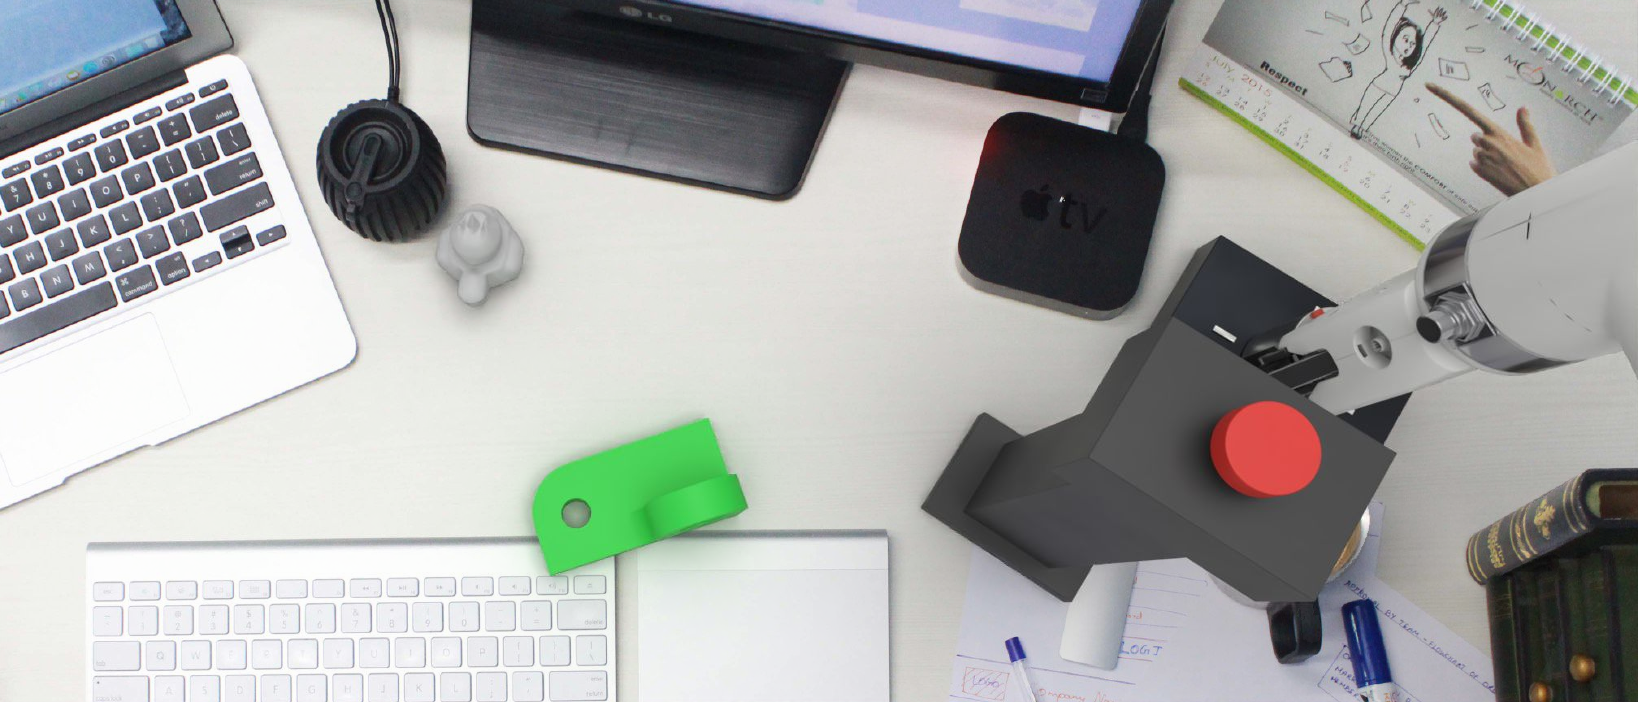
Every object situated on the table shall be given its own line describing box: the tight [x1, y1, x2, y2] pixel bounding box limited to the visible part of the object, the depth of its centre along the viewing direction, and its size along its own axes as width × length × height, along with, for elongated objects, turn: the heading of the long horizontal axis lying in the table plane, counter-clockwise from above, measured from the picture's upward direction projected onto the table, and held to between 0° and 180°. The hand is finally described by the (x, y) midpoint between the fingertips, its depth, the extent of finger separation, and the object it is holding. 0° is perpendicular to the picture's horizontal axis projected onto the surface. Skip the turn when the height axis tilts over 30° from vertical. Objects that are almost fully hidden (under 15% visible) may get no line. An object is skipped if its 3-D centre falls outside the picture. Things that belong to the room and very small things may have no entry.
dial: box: [1241, 307, 1335, 398], centre depth 68 cm, size 5×5×6 cm
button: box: [1211, 401, 1321, 498], centre depth 46 cm, size 4×4×1 cm
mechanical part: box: [531, 417, 749, 577], centre depth 69 cm, size 12×6×8 cm, turn 108°
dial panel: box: [1149, 234, 1414, 445], centre depth 73 cm, size 14×11×3 cm
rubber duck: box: [435, 203, 525, 308], centre depth 73 cm, size 5×7×8 cm
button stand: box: [920, 316, 1398, 603], centre depth 60 cm, size 10×7×26 cm
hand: (1293, 365), depth 70 cm, fingers closed on dial, 5 cm apart
